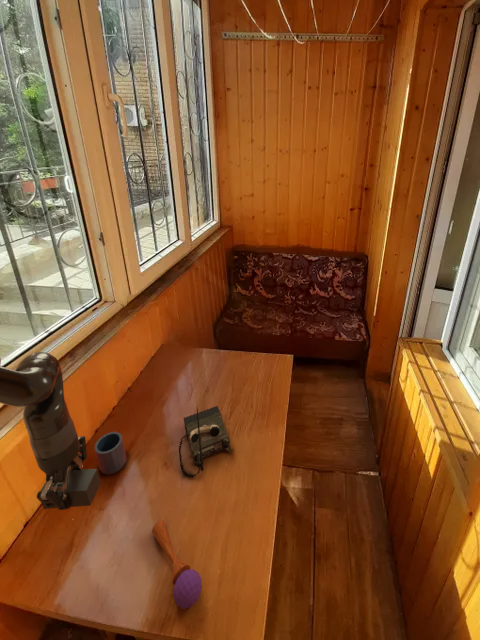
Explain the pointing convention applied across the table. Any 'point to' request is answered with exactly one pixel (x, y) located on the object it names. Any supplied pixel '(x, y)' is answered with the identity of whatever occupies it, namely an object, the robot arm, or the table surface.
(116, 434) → the cup
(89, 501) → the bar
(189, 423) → the radio
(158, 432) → the table surface
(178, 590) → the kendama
